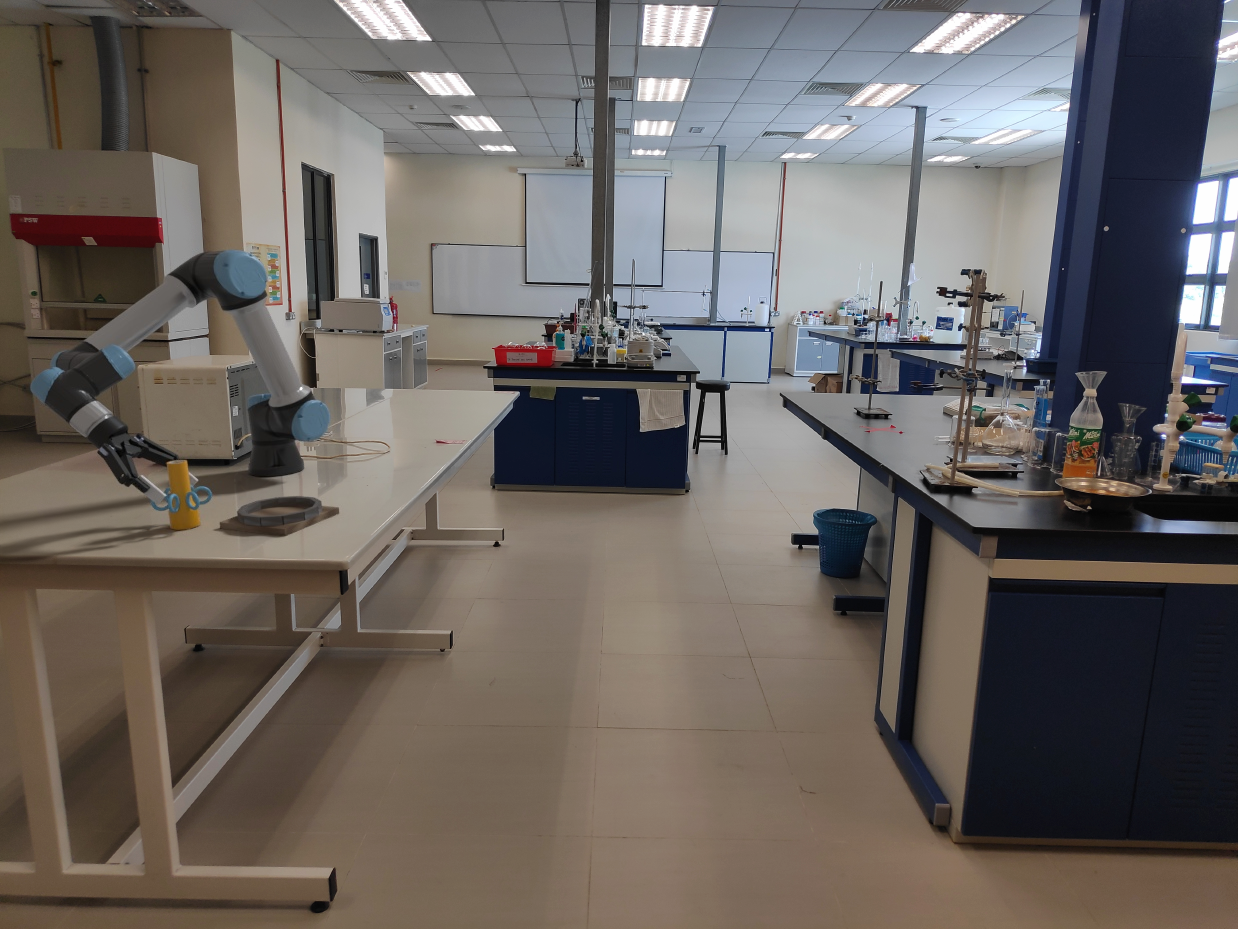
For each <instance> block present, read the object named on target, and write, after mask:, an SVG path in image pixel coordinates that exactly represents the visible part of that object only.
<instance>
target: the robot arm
mask: <svg viewBox="0 0 1238 929" xmlns="http://www.w3.org/2000/svg"><path fill="white" fill-rule="evenodd" d="M267 272H268V271H267V270H266V268H265V266H264V264H263V263H262V262H261V261H260V259H258V257H257V256H255V255H253V254H252V253H250V252H247V251H244V250H238V249H237V250H236V249H227V250H226V249H225V250H215V251H203V252H199V253H197V254H196V255H193V256H192V257H190V258H189V259H187V260H186V261H184V262H183V263H182V264H180V265H179V266H177V267H176V268H175V269H173V270H172V271H170V272H169V273H168V274H166V275H165V276H164V277H163V283H161V284H160V285H159V286H157V287H156V288H155V289H153V290H152V291H150V292H149V293H147V294H145V296H144V297H142V298H141V299H139V300H138V301H137V302H135V303H134V304H132V305H131V306H130V307H129V308H127V309H126V310H124V311H123V312H121V313H120V314H119V315H117V316H116V317H115V318H113V319H112V320H110V321H109V322H107V323H106V324H105V325H103V326H102V327H101V328H99V329H97V330H96V331H95V332H93V333H92V334H91V335H89V336H88V337H87V338H85V339H83V341H81V342H80V343H78V344H76V346H73V347H72V348H71V349H66V350H62V351H59V352H57V353H56V354H54V355H53V357H52V358H51V360H50V364H49V365H50V368H47V369H45V370H42V371H41V372H40V373H39V374H37V375H36V376H34V379H33V380H32V381H31V383H30V387H29V388H30V391H31V393H32V394H33V395H34V396H35V397H36V399H38V400H39V401H40V402H41V403H42V404H43V405H44V406H46V407H47V408H48V409H49V410H51V411H52V412H53V413H54V414H56V415H57V416H58V417H60V418H61V419H62V420H63V421H65V422H66V424H67V423H68V425H70V426H71V427H72V428H73V429H74V430H75V431H76V433H79V434H80V435H82V436H83V437H84V438H87V440H88V442H89V443H91V444H92V445H93V447H94V446H95V448H97V449H98V450H97V454H98V455H99V456H100V457H101V458H102V459H103V460H104V462H105V463H106V465H107V466H108V468H109V469H110V471H111V473H112V474H113V476H114V478H115V479H116V480H117V481H118V483H119V484H120V485H124V486H125V487H127V488H129V487H130V486H131V485H132V486H133V487H135V488H136V489H137V490H138V491H140V492H141V493H142V494H143V495H144V496H146V497H147V499H149V500H150V501H151V500H152V501H153V502H154V503H155V505H156V506H158V505H159V504H160V503H161V502H162V501H163V500H165V497H166V496H167V495H166V494H165V493H163V492H164V491H162V490H161V489H160V488H158V487H157V485H155V484H154V483H153V482H151V481H150V480H149V479H148V478H146V477H145V475H143V474H141V475H139V474H138V471H137V467H136V465H135V461H134V460H133V459H136V458H137V459H144V460H147V461H150V462H152V463H155V464H158V465H160V466H163V467H166V468H167V462H170V461H175V460H180V456H179V454H177V453H175V452H174V451H171V450H170V449H168V448H166V447H164V446H163V445H160V444H159V443H157V442H155V441H153V440H151V439H149V438H147V436H145V435H144V434H142V433H140V432H137V434H136V435H135V436H132V435H131V434H130V433H129V425H127V424H126V423H125V422H124V421H123V420H122V419H121V418H119V417H118V416H116V415H114V413H113V412H112V411H111V410H109V409H108V408H107V407H106V406H105V405H103V403H101V402H100V401H99V400H98V399H97V397H99V396H100V395H102V393H104V392H106V391H108V390H109V389H110V388H112V387H113V386H115V385H117V384H118V383H119V382H121V381H123V380H125V379H126V378H127V377H128V376H130V375H131V374H133V372H134V371H135V370H136V364H135V362H134V359H133V358H132V357H131V355H130V354H129V351H130V350H132V349H133V348H135V347H136V346H137V345H138V344H140V343H141V342H143V341H144V340H145V339H146V338H148V337H149V336H151V335H152V334H153V333H154V332H156V331H157V330H158V329H160V328H161V327H163V325H165V324H166V323H168V321H171V319H173V318H174V317H176V316H177V315H178V314H180V313H181V312H182V311H183V310H185V309H186V308H190V309H191V308H192V309H193V308H194V307H196V306H198V305H199V304H200V303H202V302H205V301H207V300H211V299H214V298H215V299H217V302H218V304H219V306H220V308H221V310H222V311H223V312H224V313H227V314H229V315H231V316H232V318H233V320H234V322H235V325H236V326H237V328H238V330H239V333H240V335H241V338H243V340H244V343H245V345H246V347H247V349H248V351H249V353H250V355H251V358H252V359H253V361H254V363H255V365H256V367H257V369H258V371H259V373H260V375H261V376H260V377H261V378H262V380H263V382H264V384H265V386H266V389H268V392H269V393H261V394H260V393H259V394H254V395H249V397H248V398H247V406H246V407H247V408H246V409H247V410H246V411H247V412H248V421H249V422H248V423H249V429H250V438H251V452H250V458H249V463H248V464H247V467H248V468H247V469H248V474H249V475H251V476H256V477H276V476H277V477H278V476H284V475H285V476H286V475H291V474H295V473H296V474H297V473H298V472H301V471H303V470H304V469H305V463H304V459H303V458H302V456H301V453H300V451H299V448H298V446H297V443H296V441H299V442H314V441H317V440H319V439H320V438H322V437H323V436H324V435H325V434H326V433H327V431H328V429H329V428H328V427H329V425H330V423H331V414H330V410H329V408H328V406H327V404H325V403H324V402H322V401H321V400H318V399H316V398H315V395H314V393H313V391H312V389H311V387H310V386H309V385H306V384H303V383H302V381H301V379H300V376H299V374H298V372H297V370H296V368H295V366H294V364H293V361H292V360H291V358H290V355H289V353H288V351H287V349H286V347H285V344H284V342H283V339H282V337H281V335H280V333H279V331H278V328H277V327H276V325H275V322H274V320H273V318H272V316H271V314H270V312H269V309H268V306H267V305H266V301H267V299H268V297H269V295H268V292H267V291H266V289H267V287H268V286H267V282H268V273H267ZM188 472H189V479H190V485H192V486H193V487H194V486H195V485H196V484H197V483H198V482H199V479H198V478H197V477H196V476H194V475H193V474H192V473H191V472H190V471H188Z"/></svg>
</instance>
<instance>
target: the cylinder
mask: <svg viewBox="0 0 1238 929" xmlns="http://www.w3.org/2000/svg"><path fill="white" fill-rule="evenodd" d="M188 466H189V464H188V460H187V459H178V460H175V461H170V462H167V467H166V468H167V469H166V470H167V474H168V475H167V476H168V483H169V487H166V488H165V489H164V491H162V492H163V493H165V494H166V495H167V496H166V497H165V498H164V501H165V502H166V503H167V505H165V506H163V507H160V506H158V505H157V504H155V503H154V502H153V501H152V500H151V499H150V505H151V508H153V509H154V510H155V511H157V512H164V511H167V510H168V518H169V524H170V525H169V527H170V529H172V530H175V531H181V530H182V531H183V530H191V529H193V528H196V527H200V525H201V518H200V517H201V516H200V509H199V508H200V506H202V505H206V504H208V503H210V501H211V500H212V497H213V493H212V491H211V489H210V488H209V487H206V486H203V485H202V486H197V487H194V486H192V485H190V479H189V472H190V471H189V467H188ZM198 491H204V492H206V493H207V498H206V499H205V500H201V501H200V498H199V496H198V494H197V493H198ZM169 492H170V494H169Z"/></svg>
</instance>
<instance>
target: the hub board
mask: <svg viewBox="0 0 1238 929" xmlns="http://www.w3.org/2000/svg"><path fill="white" fill-rule="evenodd" d="M236 514H237V515H236V516H233V517H230V518H227V519H225V520H222V521H219V527H220V529H221V530H228V531H229V530H230V531H238V532H245V533H246V532H248V533H257V534H265V535H275V536H282V537H286V536H288V534H289V535H290V534H291V535H292V534H293V532H294V533H296V532H298V531H301V530H304V529H306V528H308V527H311V526H312V525H315V524H317V523H319V522H322V521H325V520H327V519H329V518H332V517H334V516H336V514H337V515H339V514H340V508H339V507H338V506H332V505H331V506H330V505H329V506H328V505H323V504H322V500H320V499H318V498H316V497H313V496H304V495H303V496H302V495H293V496H292V495H291V496H289V495H288V496H276V497H271V498H266V499H260V500H256V501H252V502H250V503H246V504H244V505H242V506H240V507H239V509H237V511H236ZM305 527H306V528H305Z"/></svg>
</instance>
